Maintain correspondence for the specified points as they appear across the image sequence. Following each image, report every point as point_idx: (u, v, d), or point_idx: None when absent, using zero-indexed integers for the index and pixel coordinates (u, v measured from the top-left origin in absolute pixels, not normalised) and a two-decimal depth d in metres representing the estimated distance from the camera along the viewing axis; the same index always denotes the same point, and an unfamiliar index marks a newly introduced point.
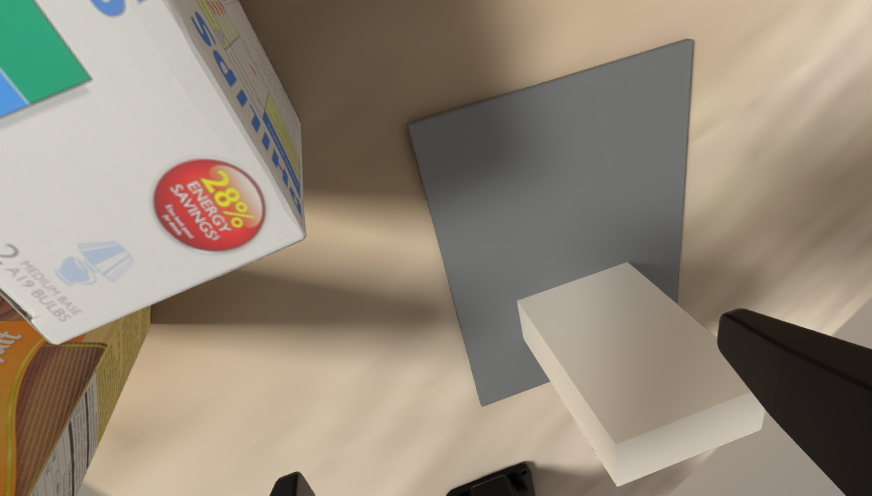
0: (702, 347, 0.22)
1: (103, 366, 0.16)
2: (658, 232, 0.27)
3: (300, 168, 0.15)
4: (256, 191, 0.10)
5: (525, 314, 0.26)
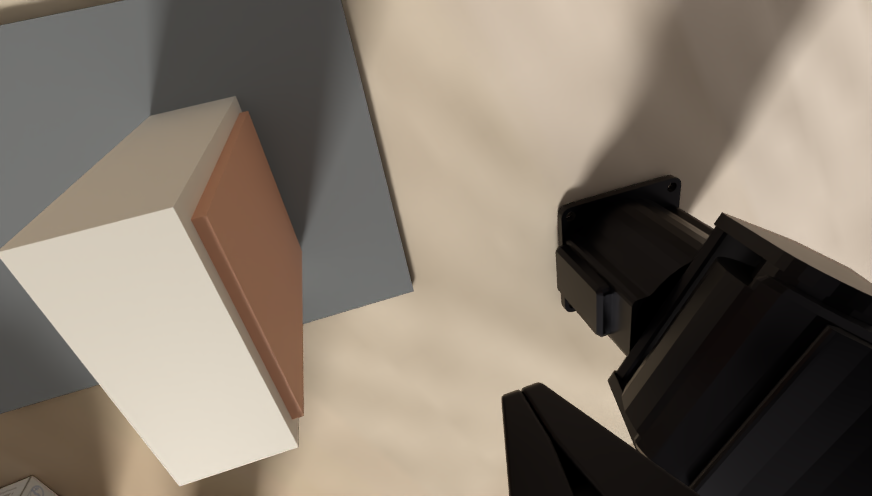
0: None
1: None
2: (79, 65, 0.15)
3: None
4: None
5: None
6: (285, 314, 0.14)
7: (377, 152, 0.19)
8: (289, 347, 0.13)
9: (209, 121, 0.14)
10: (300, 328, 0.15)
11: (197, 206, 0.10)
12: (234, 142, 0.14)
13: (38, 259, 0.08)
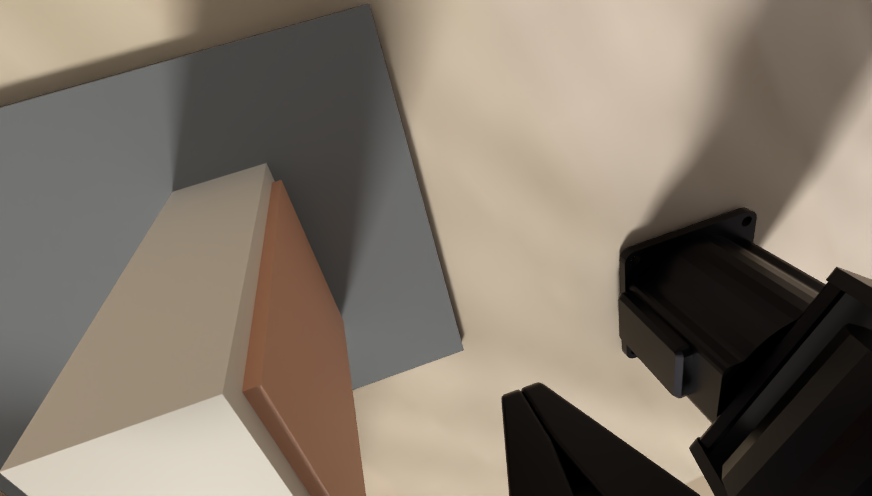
0: None
1: None
2: (91, 144, 0.14)
3: None
4: None
5: None
6: (343, 435, 0.12)
7: (423, 210, 0.17)
8: (351, 480, 0.11)
9: (243, 208, 0.12)
10: (356, 435, 0.13)
11: (247, 361, 0.08)
12: (274, 236, 0.12)
13: (54, 471, 0.07)
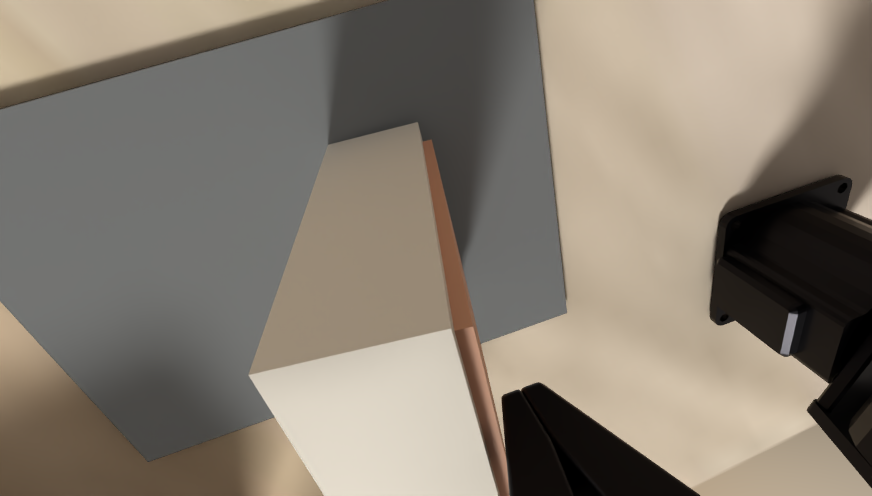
0: None
1: None
2: (263, 95, 0.14)
3: None
4: None
5: None
6: (491, 393, 0.12)
7: (550, 169, 0.18)
8: None
9: (408, 162, 0.12)
10: None
11: (449, 303, 0.08)
12: (441, 191, 0.12)
13: (290, 381, 0.07)
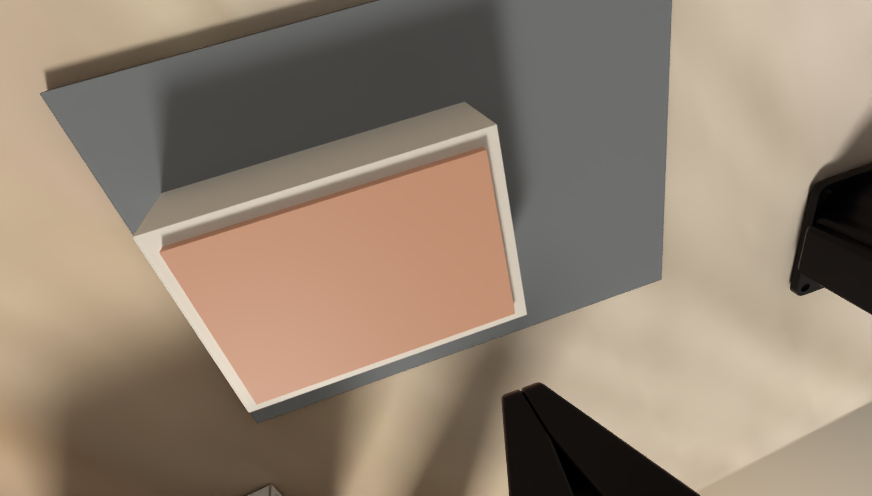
0: None
1: None
2: (414, 48, 0.14)
3: None
4: None
5: None
6: (311, 344, 0.15)
7: (665, 131, 0.18)
8: (286, 364, 0.15)
9: (381, 155, 0.13)
10: (357, 363, 0.16)
11: (188, 239, 0.12)
12: (348, 192, 0.13)
13: None
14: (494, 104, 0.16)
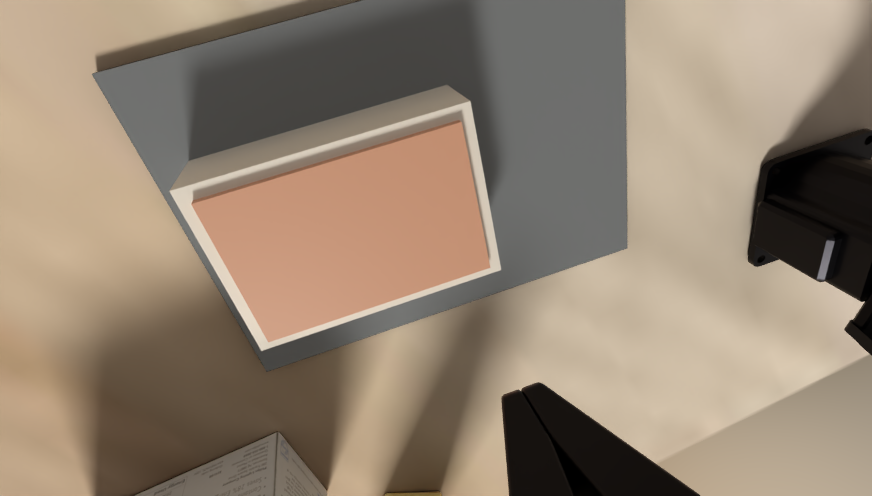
0: None
1: None
2: (403, 38, 0.17)
3: None
4: None
5: None
6: (315, 289, 0.17)
7: (624, 113, 0.21)
8: (293, 306, 0.17)
9: (374, 126, 0.16)
10: (354, 308, 0.18)
11: (214, 194, 0.15)
12: (347, 156, 0.15)
13: None
14: (472, 87, 0.19)
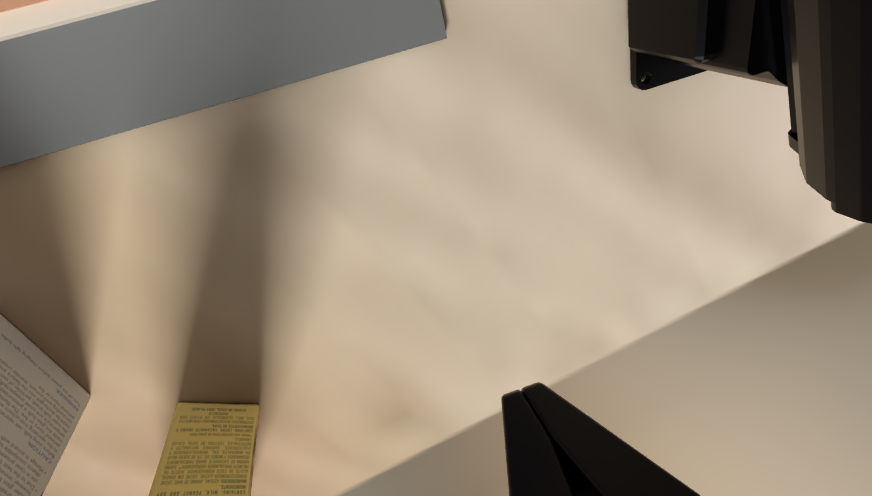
0: None
1: None
2: None
3: None
4: None
5: None
6: None
7: None
8: None
9: None
10: None
11: None
12: None
13: None
14: None
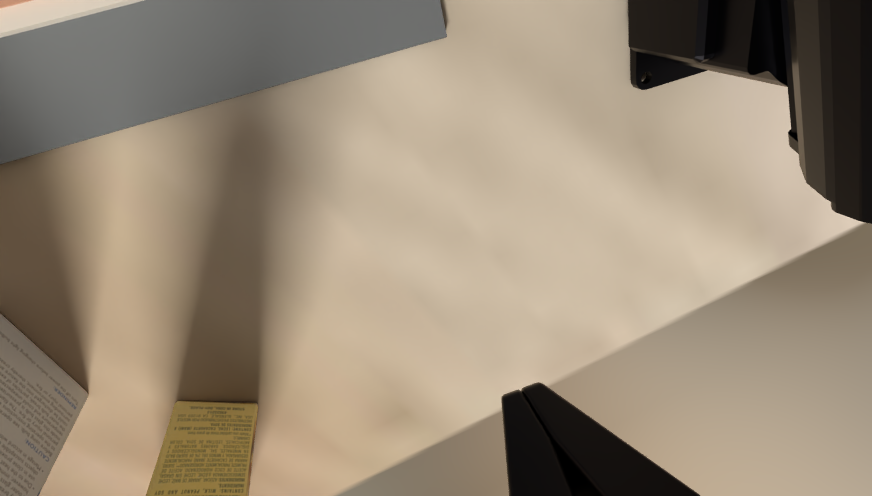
0: None
1: None
2: None
3: None
4: None
5: None
6: None
7: None
8: None
9: None
10: None
11: None
12: None
13: None
14: None
